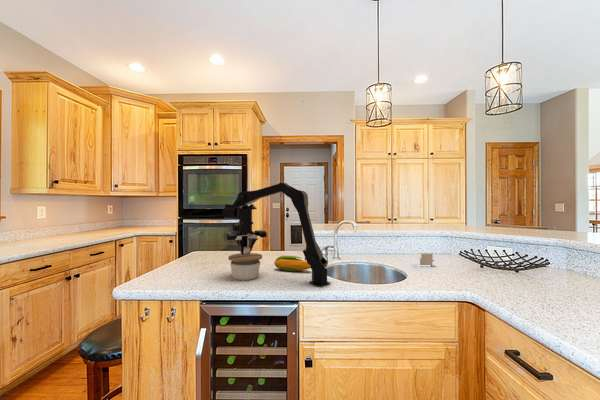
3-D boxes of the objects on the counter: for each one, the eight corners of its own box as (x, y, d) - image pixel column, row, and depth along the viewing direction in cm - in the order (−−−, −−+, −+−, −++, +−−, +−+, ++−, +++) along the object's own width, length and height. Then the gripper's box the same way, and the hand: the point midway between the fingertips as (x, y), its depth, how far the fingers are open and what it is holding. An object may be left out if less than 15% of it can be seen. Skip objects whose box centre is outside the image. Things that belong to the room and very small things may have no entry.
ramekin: (263, 273, 127) (263, 258, 127) (256, 282, 114) (256, 265, 114) (236, 272, 128) (236, 258, 128) (225, 280, 115) (225, 264, 115)
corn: (277, 252, 138) (315, 255, 132) (278, 267, 139) (315, 270, 132) (271, 256, 131) (310, 259, 125) (272, 271, 132) (311, 275, 125)
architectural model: (419, 265, 144) (419, 252, 144) (432, 266, 143) (432, 252, 143) (420, 267, 141) (421, 253, 141) (434, 268, 140) (435, 253, 140)
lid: (268, 259, 119) (268, 248, 119) (235, 263, 110) (235, 251, 110) (254, 253, 131) (254, 243, 131) (223, 257, 123) (223, 246, 123)
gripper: (257, 217, 133) (257, 249, 133) (219, 219, 122) (219, 253, 122) (267, 219, 124) (267, 252, 123) (227, 220, 113) (227, 257, 113)
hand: (245, 254), depth 121 cm, fingers closed on lid, 3 cm apart
